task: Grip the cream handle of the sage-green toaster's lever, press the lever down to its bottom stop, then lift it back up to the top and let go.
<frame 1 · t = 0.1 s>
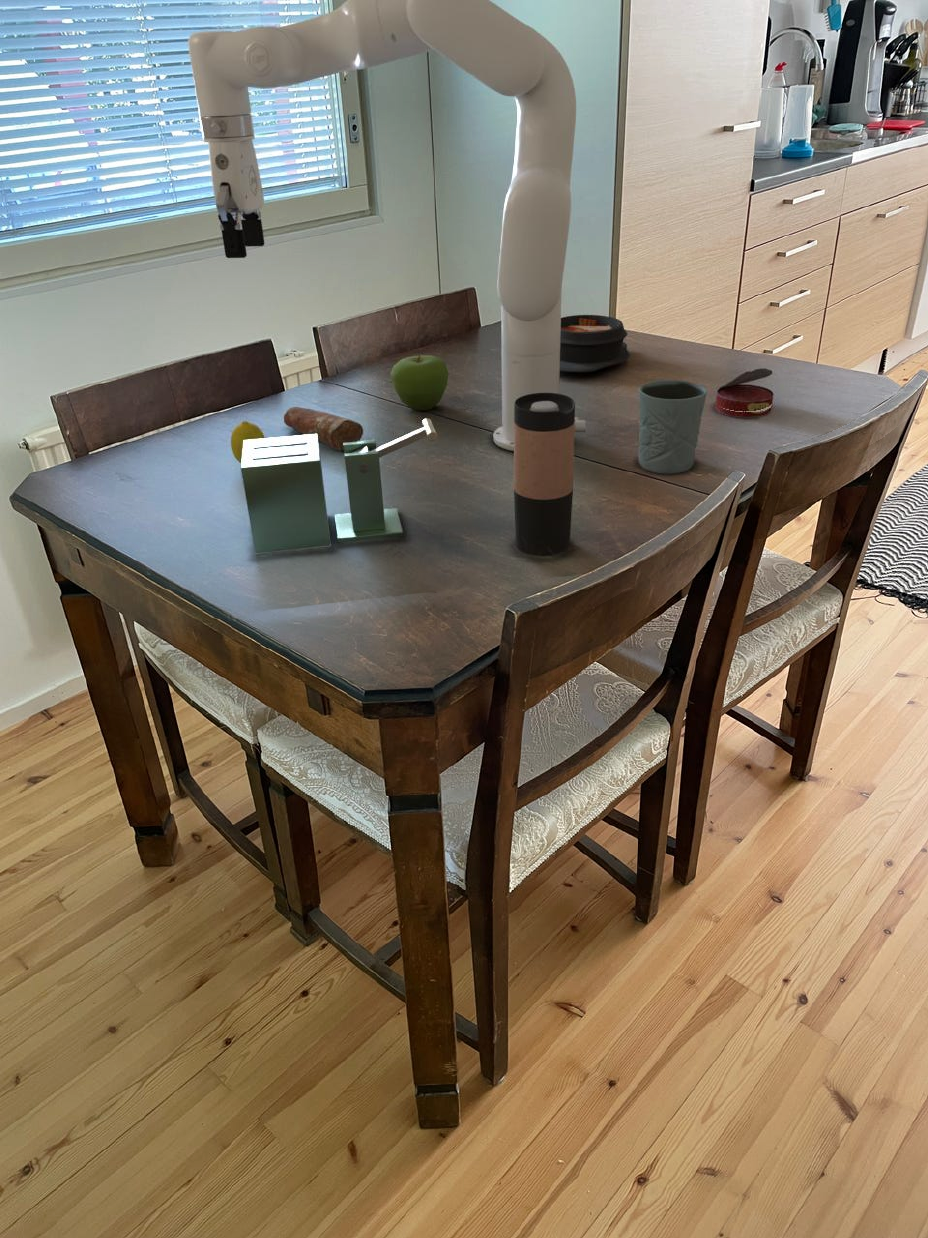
hand: (245, 251, 146), 31 cm above the table, tool pointing down, fingers open, 9 cm apart
lemon: (252, 469, 151), on the table
casserole: (584, 364, 195), on the table
apple: (421, 408, 174), on the table
canned food: (742, 409, 168), on the table
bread: (318, 440, 162), on the table
green embossed cup: (666, 463, 147), on the table
toaster: (293, 538, 129), on the table
lever: (393, 446, 124), point 12 cm above the table, hinge at 20.0°
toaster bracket: (368, 530, 130), on the table
travel mug: (542, 548, 124), on the table
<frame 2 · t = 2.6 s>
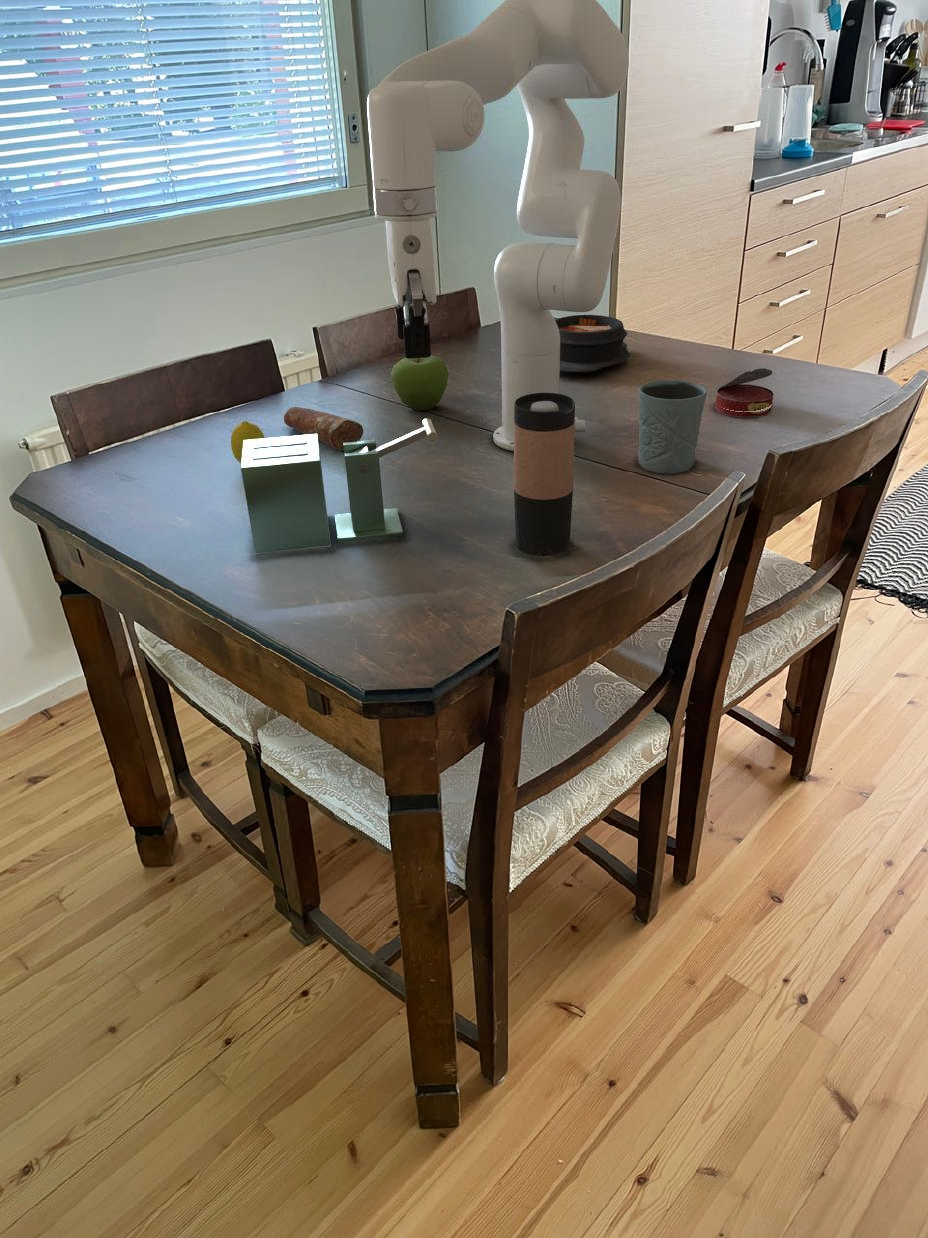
hand: (413, 347, 120), 25 cm above the table, tool pointing down, fingers open, 9 cm apart
nothing on the table moved.
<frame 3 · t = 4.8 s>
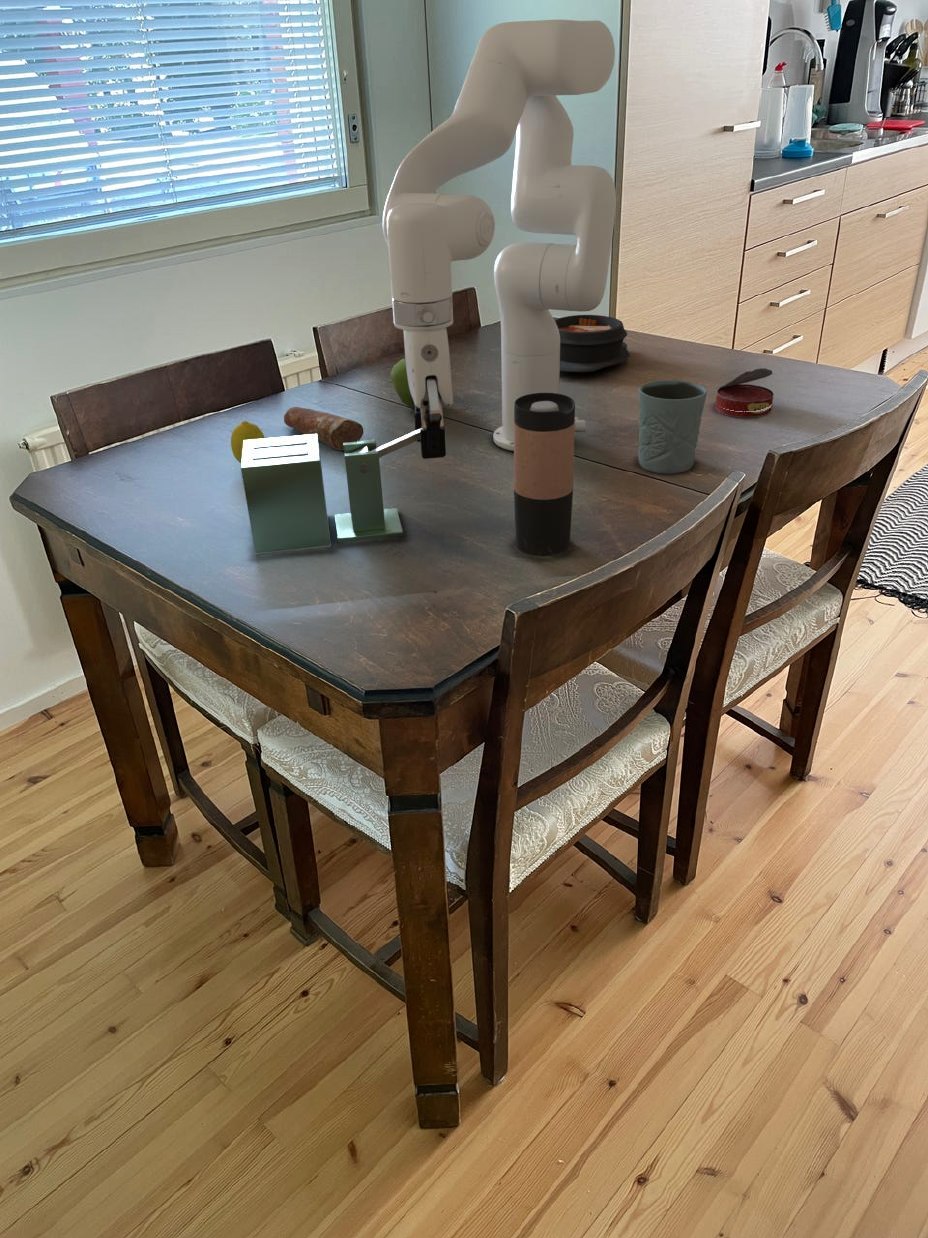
hand: (430, 447, 125), 11 cm above the table, tool pointing down, fingers closed on lever, 5 cm apart
lever: (393, 446, 124), point 12 cm above the table, hinge at 20.0°, touching gripper
everything else where it was.
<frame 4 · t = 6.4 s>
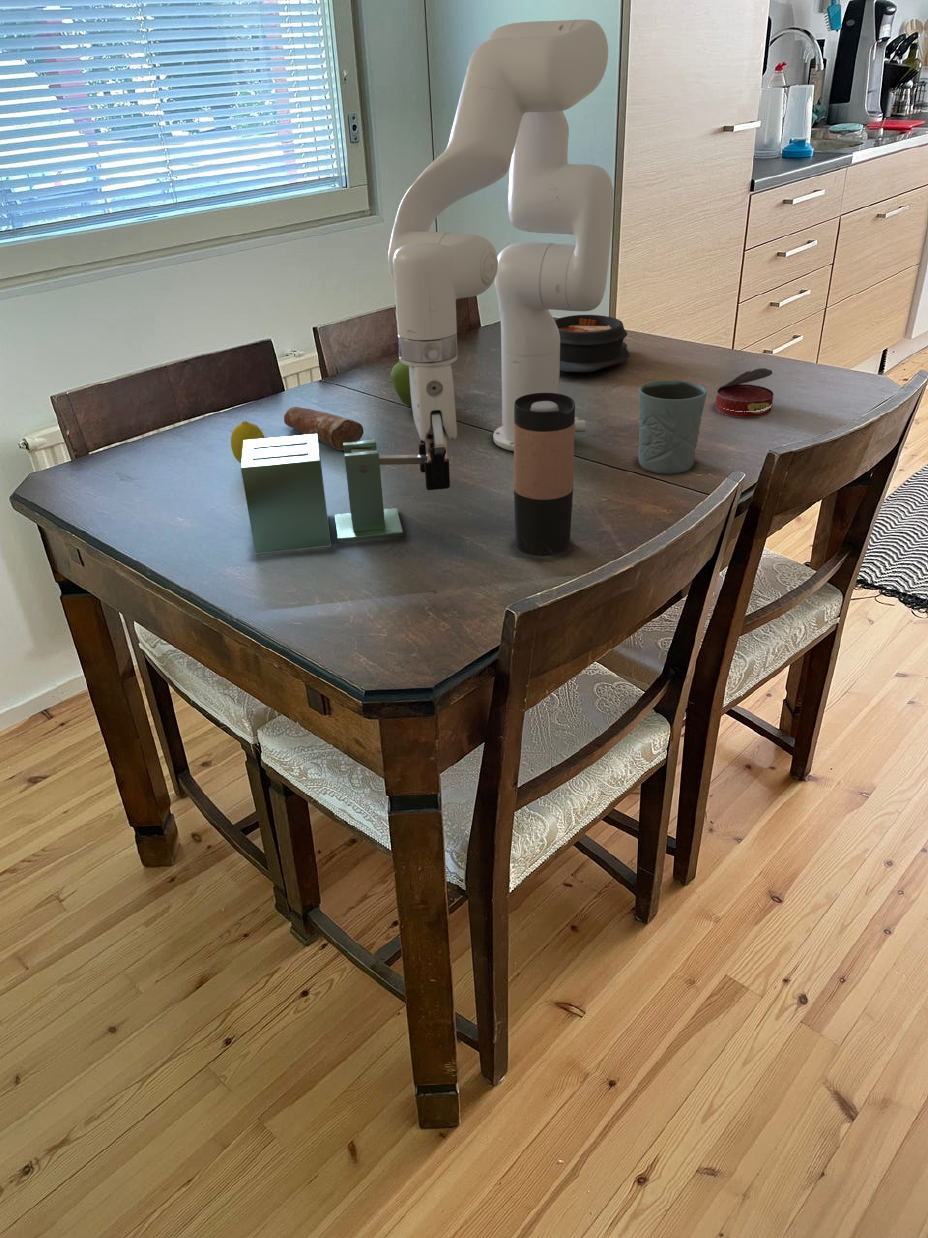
hand: (434, 478, 128), 7 cm above the table, tool pointing down, fingers closed on lever, 5 cm apart
lever: (396, 459, 125), point 10 cm above the table, hinge at -4.8°, touching gripper
everything else where it was.
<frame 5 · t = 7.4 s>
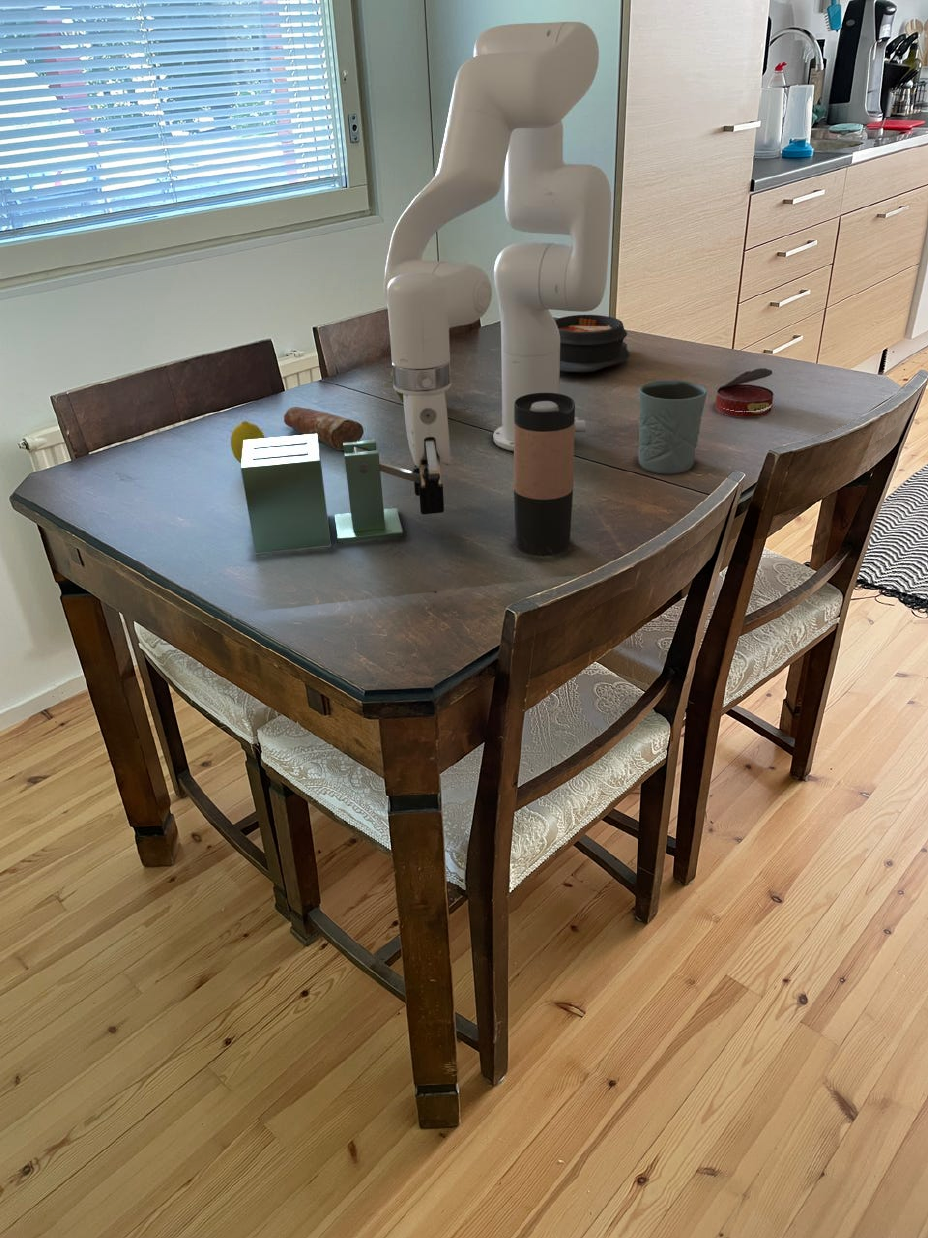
hand: (429, 502, 129), 3 cm above the table, tool pointing down, fingers closed on lever, 5 cm apart
lever: (394, 470, 126), point 9 cm above the table, hinge at -24.3°, touching gripper
everything else where it was.
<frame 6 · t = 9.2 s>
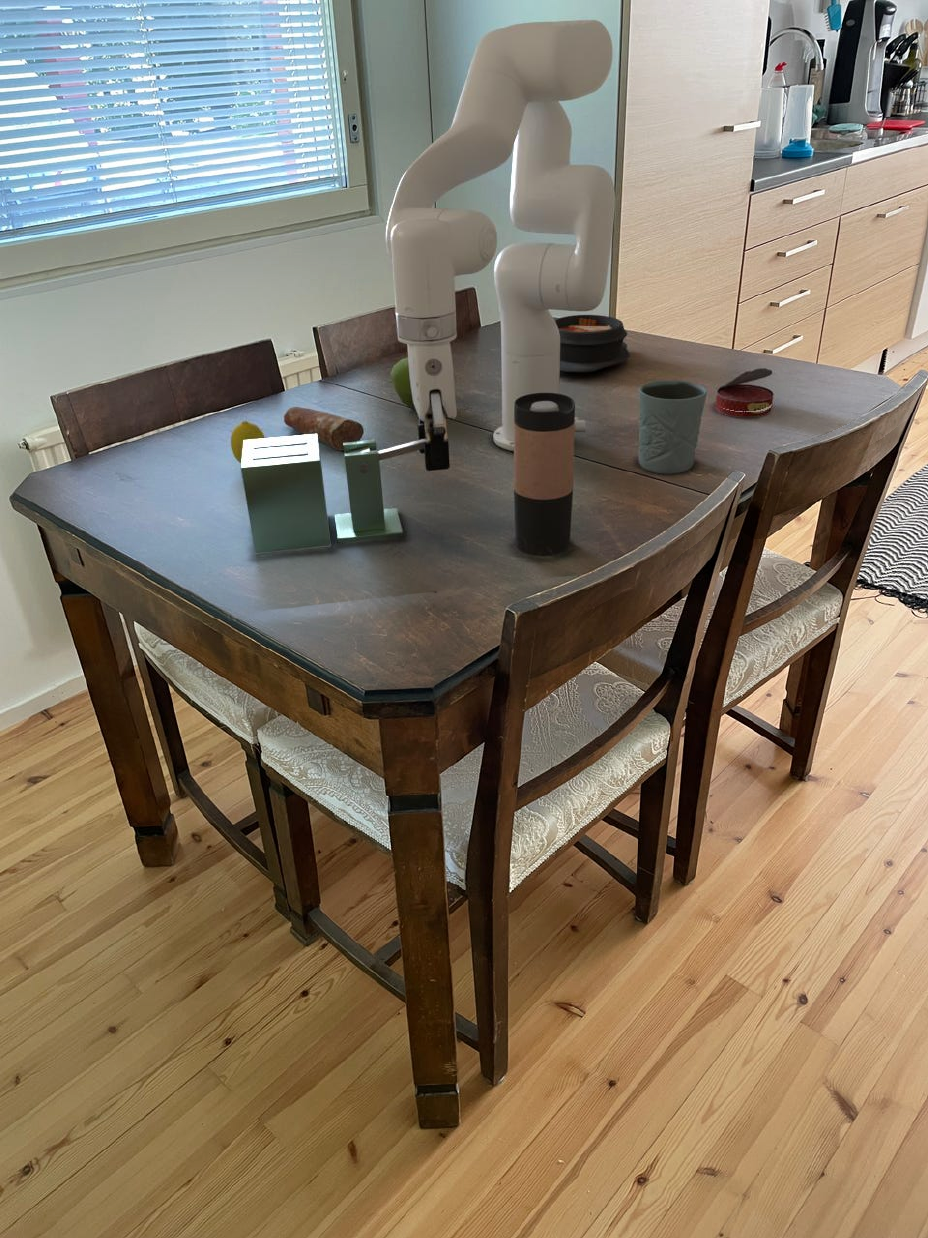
hand: (434, 459, 126), 10 cm above the table, tool pointing down, fingers closed on lever, 5 cm apart
lever: (395, 451, 125), point 11 cm above the table, hinge at 10.2°, touching gripper
everything else where it was.
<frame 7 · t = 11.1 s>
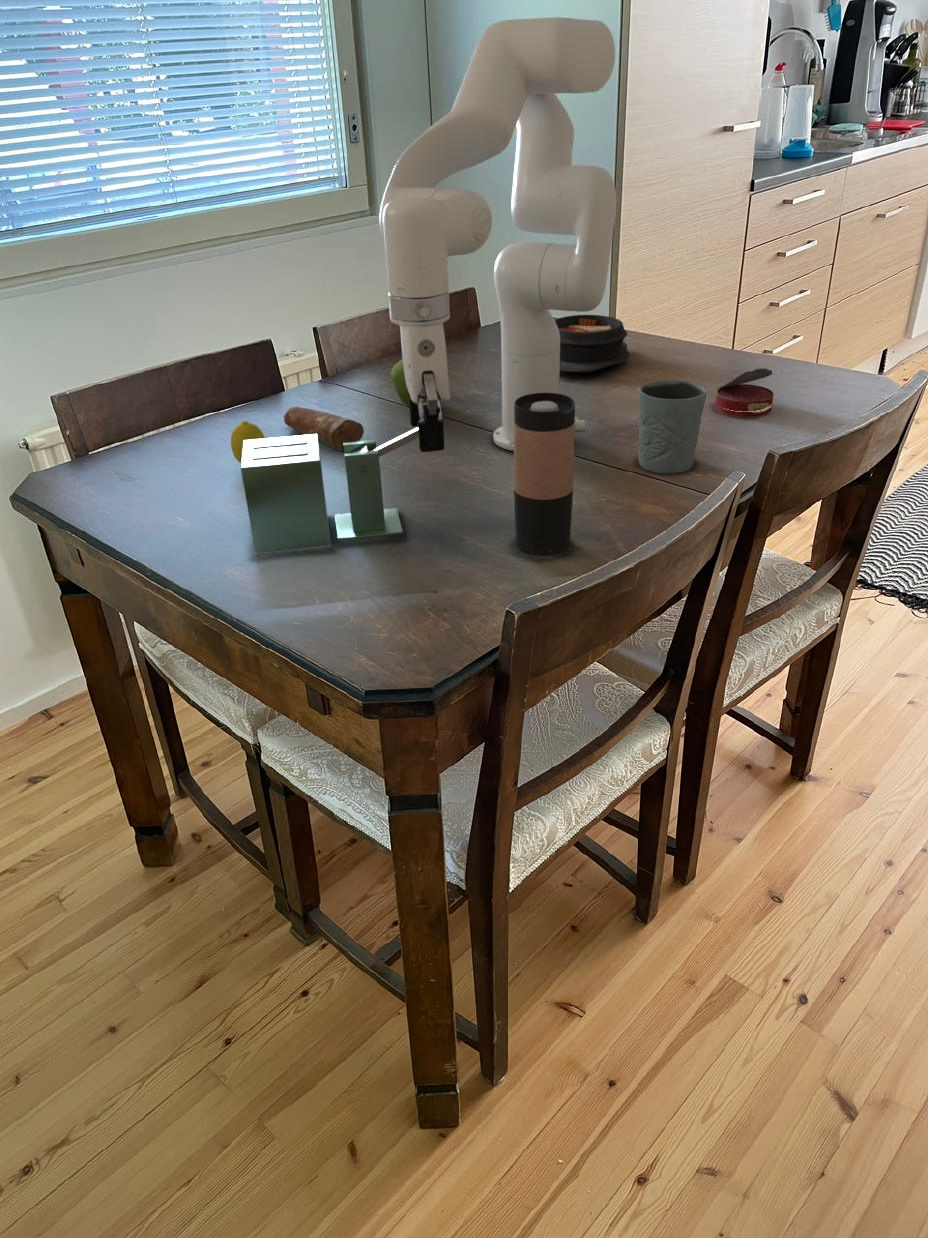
hand: (427, 437, 124), 13 cm above the table, tool pointing down, fingers open, 9 cm apart
lever: (392, 444, 124), point 12 cm above the table, hinge at 22.3°
everything else where it was.
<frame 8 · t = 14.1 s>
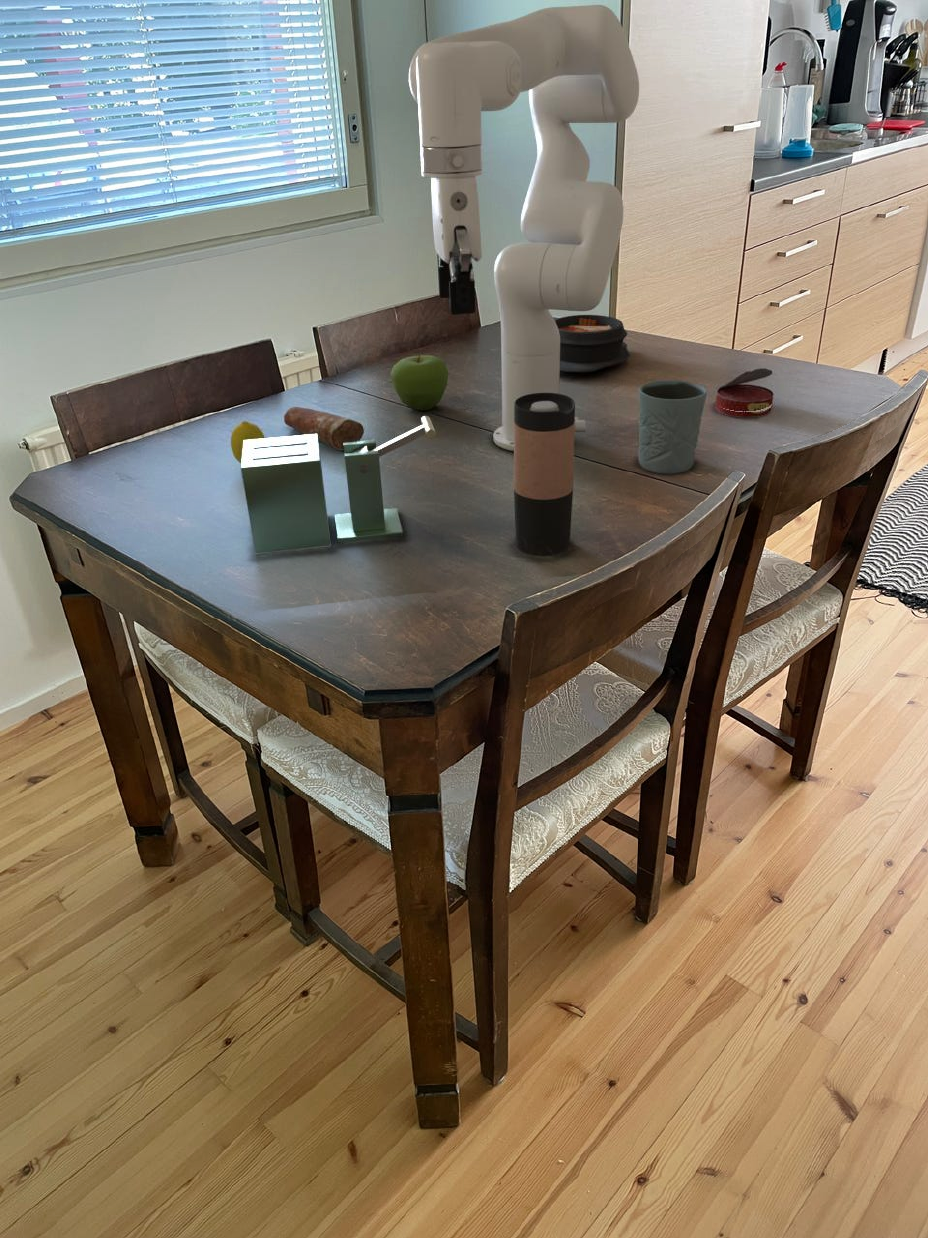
hand: (456, 304, 123), 28 cm above the table, tool pointing down, fingers open, 9 cm apart
nothing on the table moved.
at the end: lever reached -24° during the clip, +22° at the end; lever at +22° (first picture: +20°) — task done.
